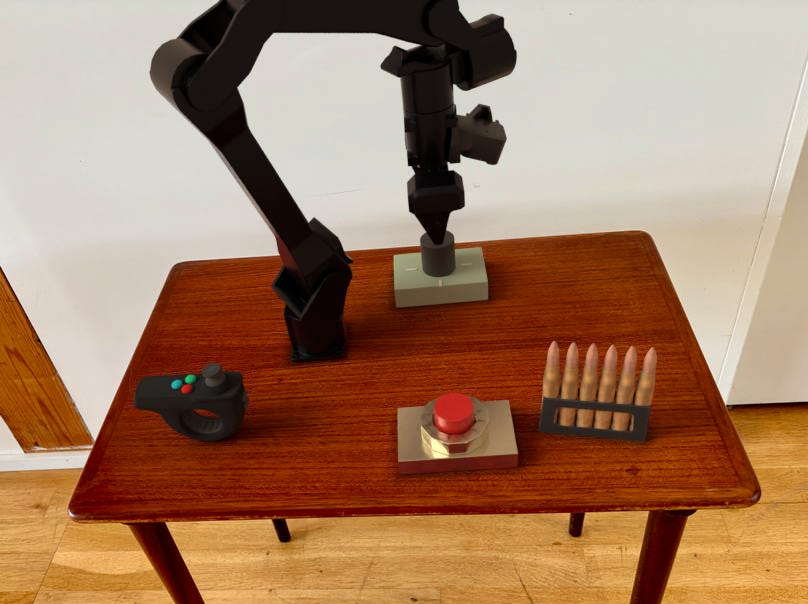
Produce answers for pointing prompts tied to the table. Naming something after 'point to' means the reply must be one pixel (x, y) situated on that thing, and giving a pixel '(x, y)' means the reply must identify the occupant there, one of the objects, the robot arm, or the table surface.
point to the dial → (438, 256)
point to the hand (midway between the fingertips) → (436, 223)
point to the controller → (196, 401)
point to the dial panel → (440, 280)
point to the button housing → (456, 440)
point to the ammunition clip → (597, 395)
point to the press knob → (454, 413)
